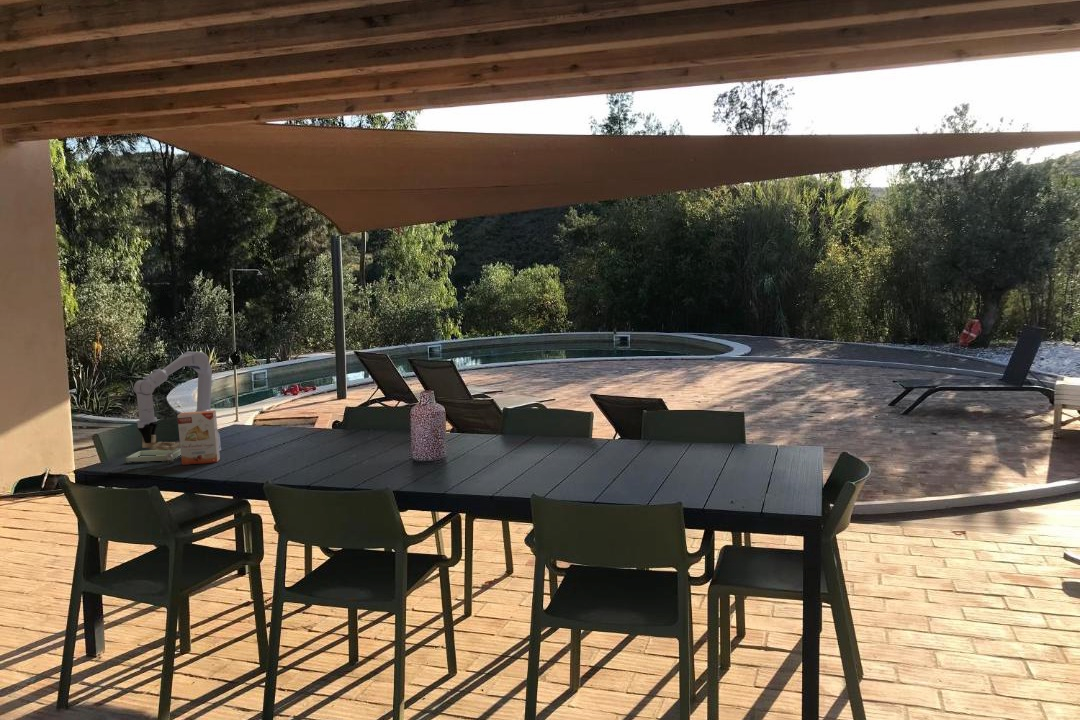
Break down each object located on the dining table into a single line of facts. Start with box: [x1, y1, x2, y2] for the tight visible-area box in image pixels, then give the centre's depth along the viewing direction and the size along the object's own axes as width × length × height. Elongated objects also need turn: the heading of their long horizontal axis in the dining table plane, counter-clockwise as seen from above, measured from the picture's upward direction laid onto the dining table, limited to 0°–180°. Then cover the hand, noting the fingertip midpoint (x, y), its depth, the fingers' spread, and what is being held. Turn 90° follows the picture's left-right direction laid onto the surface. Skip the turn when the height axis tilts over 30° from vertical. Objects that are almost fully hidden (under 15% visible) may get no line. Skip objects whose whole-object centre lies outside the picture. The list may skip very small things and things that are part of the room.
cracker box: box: [177, 410, 221, 466], centre depth 358 cm, size 14×6×21 cm, turn 99°
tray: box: [124, 447, 181, 463], centre depth 372 cm, size 19×14×2 cm
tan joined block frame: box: [141, 434, 180, 450], centre depth 359 cm, size 14×9×5 cm, turn 92°
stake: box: [166, 451, 174, 464], centre depth 360 cm, size 2×4×5 cm, turn 3°
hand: (149, 442), depth 359 cm, fingers closed on tan joined block frame, 2 cm apart
